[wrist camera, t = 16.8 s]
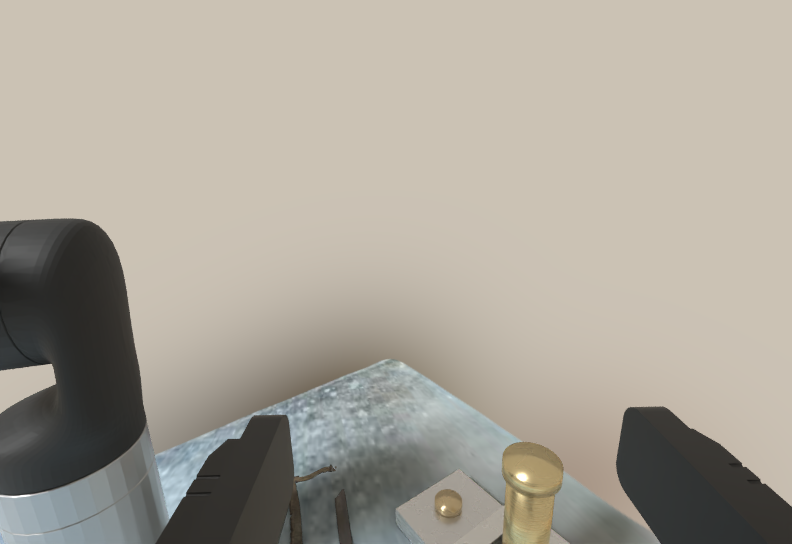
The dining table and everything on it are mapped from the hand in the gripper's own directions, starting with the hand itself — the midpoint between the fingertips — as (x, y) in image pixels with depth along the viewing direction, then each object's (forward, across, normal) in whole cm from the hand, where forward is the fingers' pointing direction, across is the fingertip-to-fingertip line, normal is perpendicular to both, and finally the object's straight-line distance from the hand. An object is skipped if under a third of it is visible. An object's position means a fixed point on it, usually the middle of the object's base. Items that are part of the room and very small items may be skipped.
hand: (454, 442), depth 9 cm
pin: (+17, -9, +30) cm, 36 cm away
